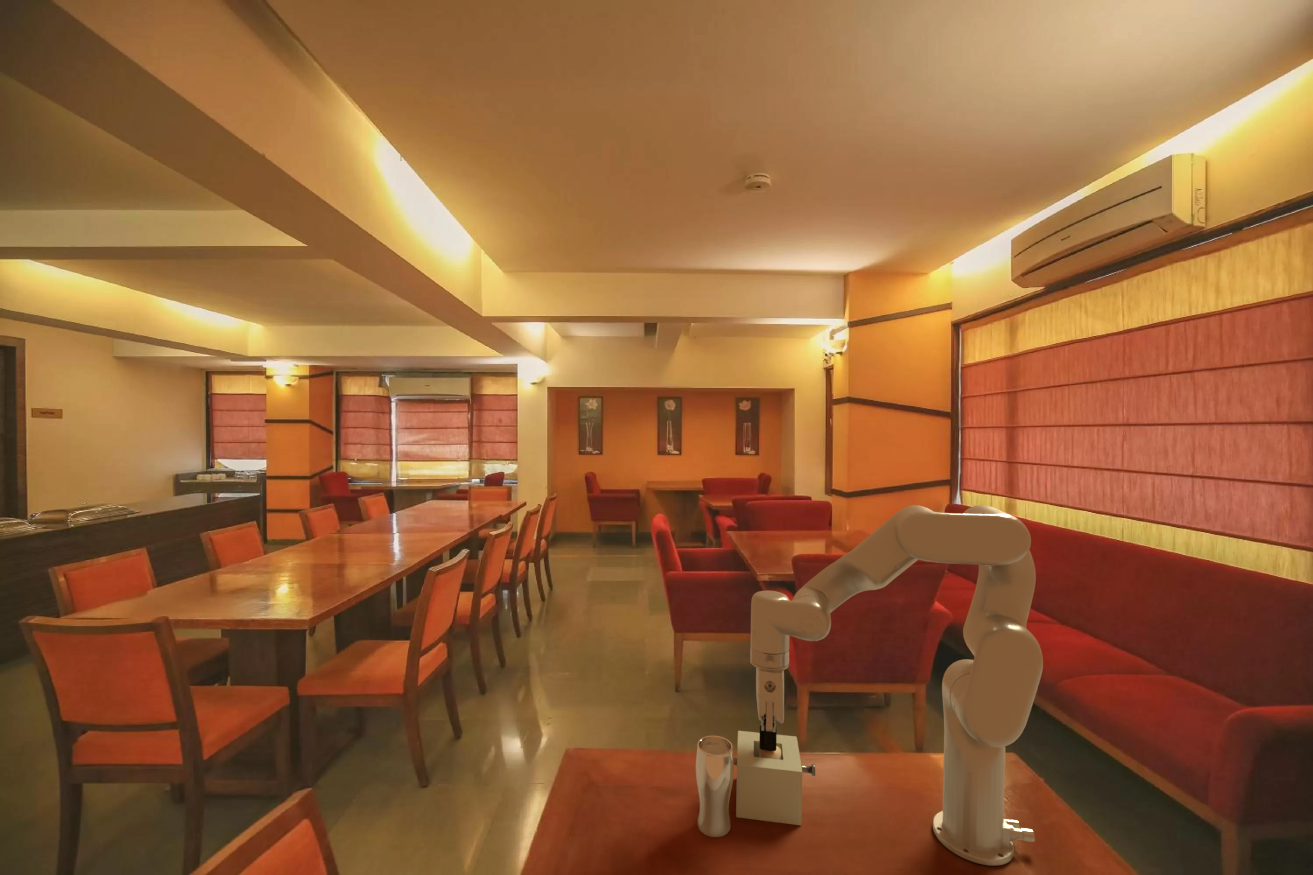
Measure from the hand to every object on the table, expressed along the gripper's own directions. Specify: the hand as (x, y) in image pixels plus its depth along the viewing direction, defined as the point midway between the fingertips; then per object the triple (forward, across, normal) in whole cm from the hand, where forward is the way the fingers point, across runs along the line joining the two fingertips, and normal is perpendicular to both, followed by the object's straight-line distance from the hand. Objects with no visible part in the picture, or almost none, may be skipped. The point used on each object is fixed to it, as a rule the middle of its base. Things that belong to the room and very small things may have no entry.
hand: (767, 747), depth 109 cm
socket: (+10, 0, 0) cm, 10 cm away
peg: (+10, 0, -1) cm, 10 cm away
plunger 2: (+5, 0, -6) cm, 7 cm away
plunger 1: (+5, 0, +6) cm, 7 cm away
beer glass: (+11, -9, +10) cm, 17 cm away
